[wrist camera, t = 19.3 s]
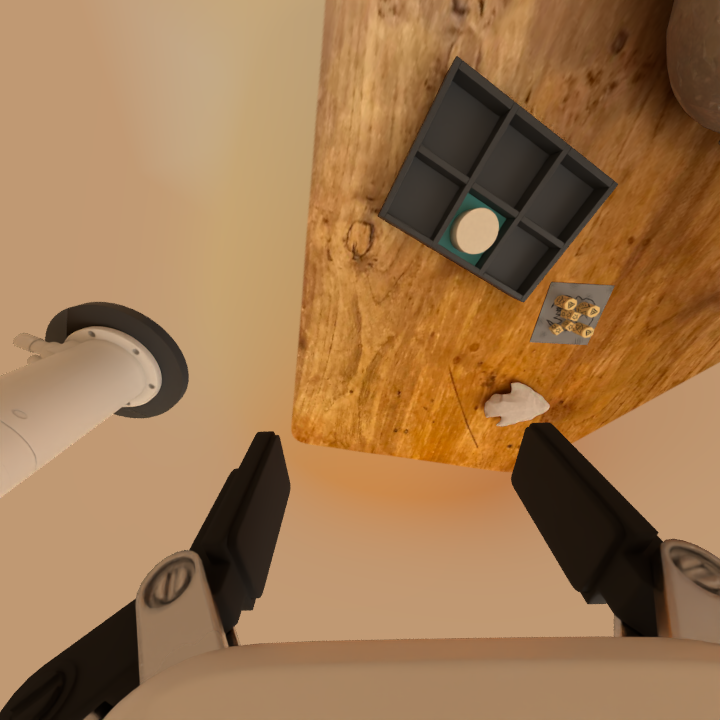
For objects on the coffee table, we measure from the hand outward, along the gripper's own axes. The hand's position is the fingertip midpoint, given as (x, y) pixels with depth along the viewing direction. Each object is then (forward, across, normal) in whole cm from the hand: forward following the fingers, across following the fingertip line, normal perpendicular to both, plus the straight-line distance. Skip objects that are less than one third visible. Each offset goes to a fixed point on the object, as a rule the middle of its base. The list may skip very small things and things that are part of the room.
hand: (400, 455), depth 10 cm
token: (+26, -11, -7) cm, 29 cm away
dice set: (+26, -26, +3) cm, 37 cm away
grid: (+26, -13, -10) cm, 31 cm away
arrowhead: (+26, -21, +17) cm, 38 cm away
